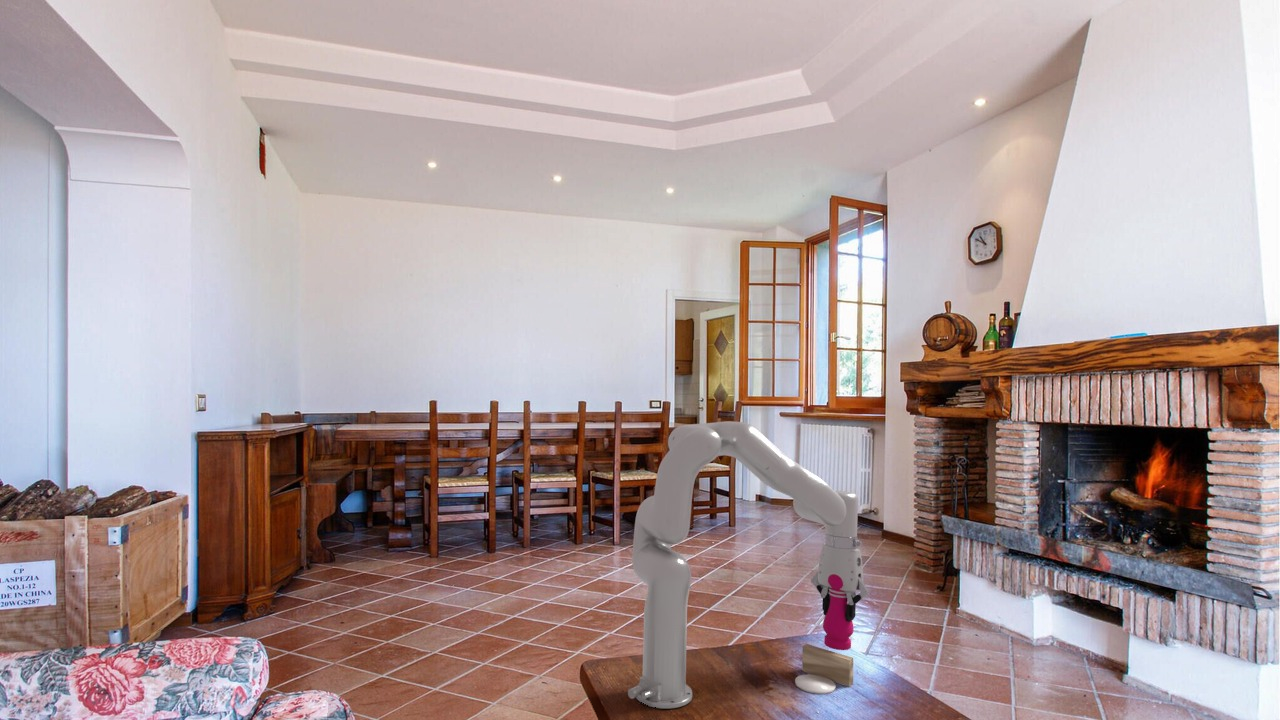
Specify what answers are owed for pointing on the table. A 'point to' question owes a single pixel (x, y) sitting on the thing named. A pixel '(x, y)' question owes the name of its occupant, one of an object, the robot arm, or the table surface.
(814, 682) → the coaster
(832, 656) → the oak rail
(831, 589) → the pepper mill
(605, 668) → the table surface
